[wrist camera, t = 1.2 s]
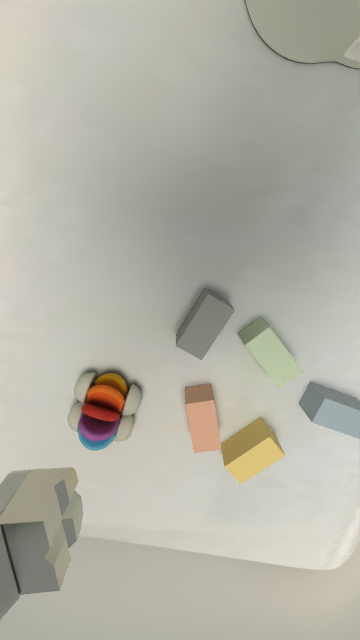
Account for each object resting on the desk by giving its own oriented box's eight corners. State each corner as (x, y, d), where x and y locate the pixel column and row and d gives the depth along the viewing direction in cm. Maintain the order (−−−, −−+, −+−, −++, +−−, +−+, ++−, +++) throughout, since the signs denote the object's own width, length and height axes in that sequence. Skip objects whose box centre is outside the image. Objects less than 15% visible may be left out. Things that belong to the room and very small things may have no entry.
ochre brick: (260, 416, 43) (269, 436, 38) (274, 433, 43) (285, 455, 39) (220, 444, 44) (224, 466, 40) (235, 460, 45) (240, 484, 40)
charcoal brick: (205, 287, 38) (208, 294, 34) (228, 301, 39) (234, 309, 34) (176, 334, 40) (175, 345, 35) (199, 347, 40) (201, 360, 36)
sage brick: (237, 333, 40) (244, 345, 35) (259, 316, 39) (269, 326, 35) (268, 372, 41) (279, 388, 37) (290, 356, 40) (303, 371, 36)
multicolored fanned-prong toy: (147, 377, 41) (140, 405, 34) (129, 437, 44) (119, 475, 37) (86, 359, 41) (66, 385, 34) (71, 421, 43) (49, 457, 36)
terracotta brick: (185, 386, 42) (185, 404, 37) (210, 383, 42) (214, 399, 37) (192, 431, 43) (194, 452, 39) (217, 427, 43) (221, 449, 39)
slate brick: (298, 403, 42) (311, 422, 38) (309, 381, 41) (325, 398, 37) (343, 419, 43) (361, 439, 38) (355, 398, 42) (376, 416, 38)
